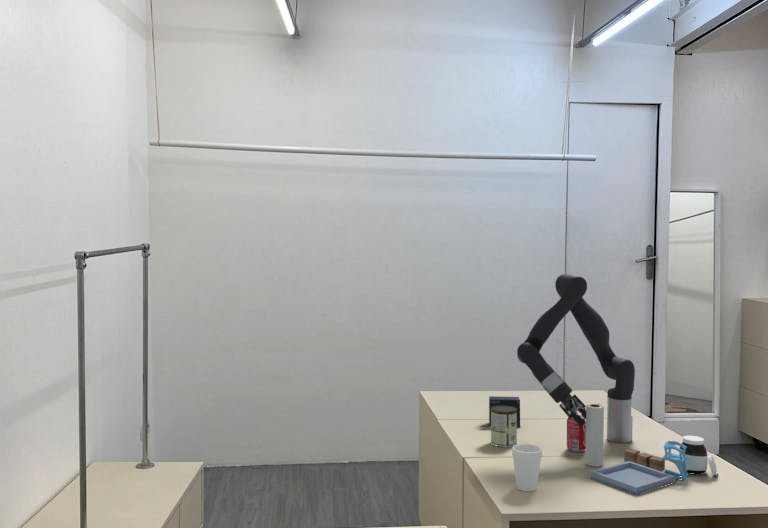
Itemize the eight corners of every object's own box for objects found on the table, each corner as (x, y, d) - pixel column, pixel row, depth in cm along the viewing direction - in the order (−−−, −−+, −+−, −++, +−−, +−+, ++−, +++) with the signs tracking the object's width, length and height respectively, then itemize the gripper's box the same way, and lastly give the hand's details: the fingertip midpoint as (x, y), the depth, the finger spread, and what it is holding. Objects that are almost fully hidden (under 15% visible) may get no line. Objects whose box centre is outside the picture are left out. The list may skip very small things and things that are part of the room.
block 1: (629, 459, 251) (629, 448, 251) (639, 461, 248) (640, 450, 248) (624, 461, 248) (624, 450, 248) (634, 464, 245) (634, 453, 245)
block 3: (653, 466, 243) (653, 455, 242) (664, 469, 240) (664, 458, 240) (649, 469, 239) (649, 458, 239) (661, 472, 237) (661, 460, 237)
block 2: (644, 463, 246) (645, 452, 246) (653, 466, 243) (653, 455, 243) (636, 464, 244) (636, 453, 244) (645, 468, 241) (645, 457, 241)
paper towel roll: (594, 468, 240) (594, 408, 240) (581, 463, 246) (582, 404, 245) (609, 465, 244) (610, 406, 243) (596, 460, 249) (597, 402, 248)
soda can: (586, 453, 257) (587, 419, 257) (567, 452, 258) (567, 418, 258) (585, 447, 264) (585, 414, 263) (566, 446, 265) (566, 413, 265)
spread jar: (675, 466, 243) (676, 434, 243) (708, 466, 243) (708, 434, 242) (689, 478, 231) (690, 444, 231) (723, 478, 231) (724, 444, 230)
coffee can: (494, 438, 276) (494, 404, 275) (519, 441, 272) (520, 406, 271) (487, 445, 267) (487, 409, 266) (513, 449, 262) (513, 412, 262)
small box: (518, 423, 299) (519, 396, 298) (520, 427, 292) (520, 400, 292) (488, 422, 300) (489, 395, 300) (489, 426, 293) (489, 399, 293)
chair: (685, 483, 226) (686, 447, 226) (658, 477, 231) (659, 442, 231) (690, 476, 233) (691, 441, 232) (664, 471, 237) (665, 437, 237)
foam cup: (508, 483, 225) (509, 444, 225) (536, 482, 226) (536, 443, 226) (516, 493, 216) (517, 453, 215) (545, 493, 217) (545, 452, 216)
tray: (628, 467, 241) (629, 461, 241) (674, 483, 226) (674, 475, 226) (590, 478, 230) (591, 471, 230) (636, 495, 215) (636, 487, 215)
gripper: (557, 384, 244) (588, 420, 239) (569, 377, 256) (599, 412, 251) (542, 397, 247) (573, 433, 242) (555, 389, 259) (585, 424, 254)
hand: (586, 422), depth 246 cm, fingers open, 8 cm apart
